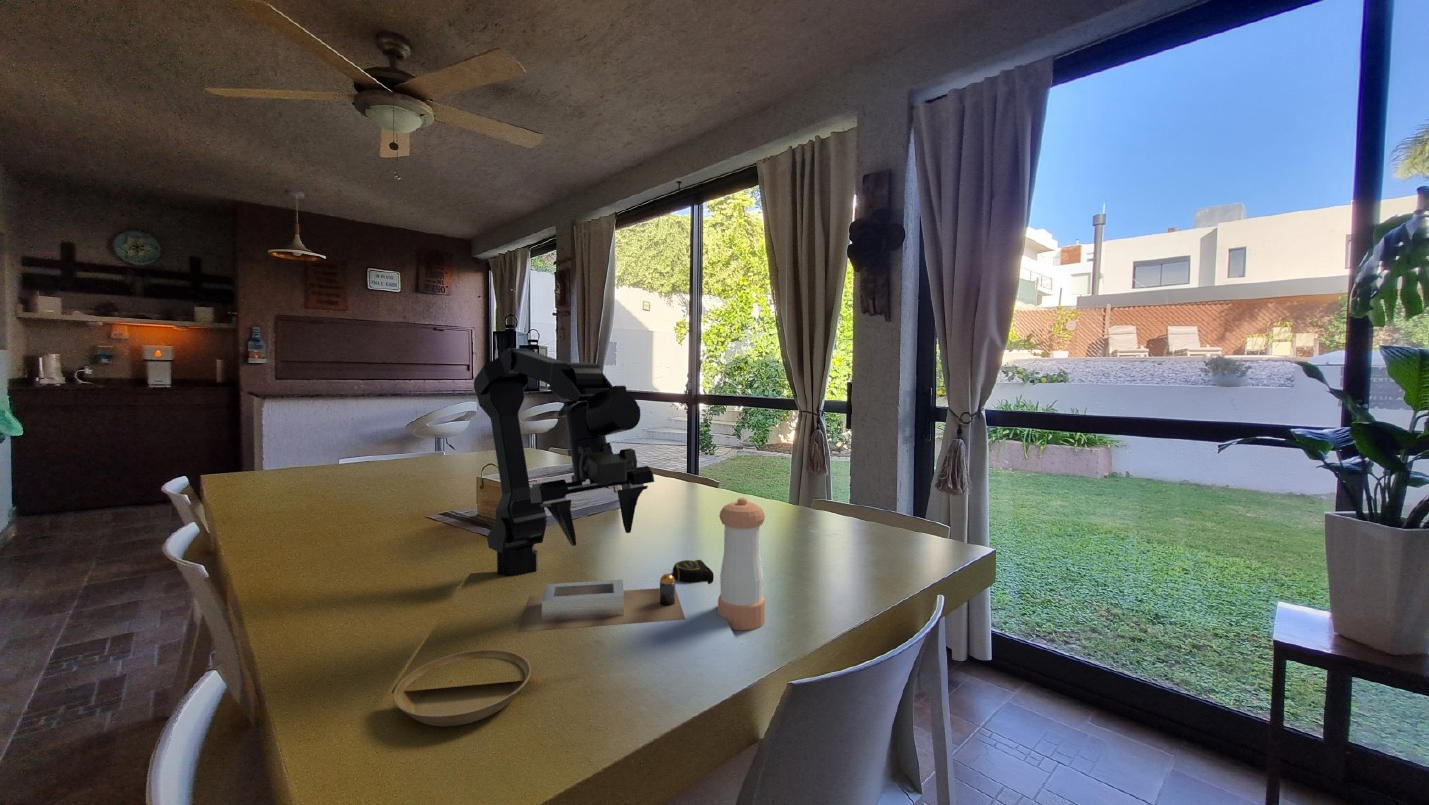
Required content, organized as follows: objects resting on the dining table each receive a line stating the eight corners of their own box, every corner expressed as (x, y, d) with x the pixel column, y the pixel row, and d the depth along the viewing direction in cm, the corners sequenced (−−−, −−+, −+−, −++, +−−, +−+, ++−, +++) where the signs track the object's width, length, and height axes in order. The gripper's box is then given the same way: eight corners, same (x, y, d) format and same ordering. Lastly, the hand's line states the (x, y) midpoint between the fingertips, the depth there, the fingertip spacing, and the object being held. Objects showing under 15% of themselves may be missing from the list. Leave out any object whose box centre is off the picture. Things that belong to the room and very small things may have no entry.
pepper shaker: (757, 633, 84) (758, 505, 83) (711, 626, 87) (712, 501, 86) (769, 614, 91) (771, 495, 90) (726, 607, 94) (727, 492, 93)
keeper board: (517, 642, 81) (517, 631, 81) (529, 605, 94) (529, 596, 94) (685, 628, 86) (685, 619, 86) (674, 595, 99) (674, 587, 98)
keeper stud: (660, 606, 90) (660, 577, 90) (659, 600, 93) (659, 572, 92) (675, 605, 91) (675, 576, 91) (673, 599, 93) (673, 571, 93)
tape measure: (714, 589, 102) (715, 568, 102) (677, 593, 100) (677, 572, 100) (703, 576, 109) (703, 557, 108) (668, 580, 107) (668, 560, 106)
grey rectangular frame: (542, 621, 85) (541, 601, 85) (546, 602, 92) (546, 584, 91) (624, 615, 87) (623, 595, 87) (622, 597, 94) (622, 579, 94)
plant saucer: (385, 692, 69) (385, 671, 69) (510, 656, 78) (509, 638, 77) (404, 759, 57) (404, 733, 57) (549, 708, 66) (549, 686, 66)
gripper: (546, 440, 79) (562, 555, 77) (663, 427, 90) (679, 526, 88) (522, 449, 88) (536, 552, 86) (631, 436, 99) (645, 527, 97)
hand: (601, 539), depth 89 cm, fingers open, 9 cm apart
